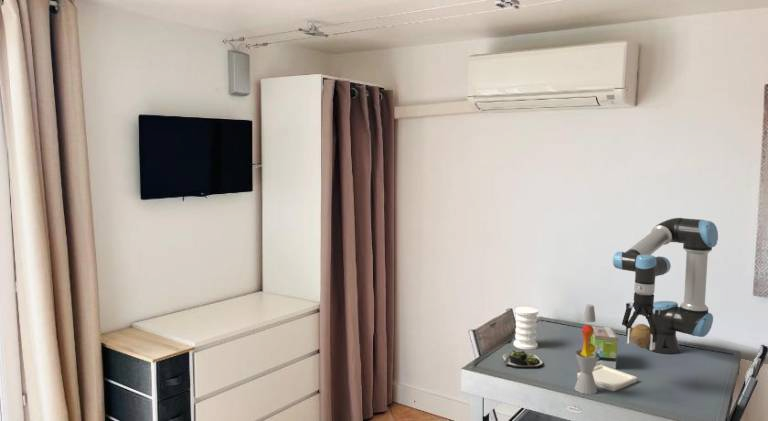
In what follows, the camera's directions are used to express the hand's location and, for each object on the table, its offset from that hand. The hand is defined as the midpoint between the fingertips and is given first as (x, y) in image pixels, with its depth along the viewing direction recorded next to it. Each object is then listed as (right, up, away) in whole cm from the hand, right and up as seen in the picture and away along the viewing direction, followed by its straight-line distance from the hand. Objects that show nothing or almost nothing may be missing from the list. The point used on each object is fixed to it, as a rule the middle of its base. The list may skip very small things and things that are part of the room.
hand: (640, 346), depth 243 cm
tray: (-12, -15, +5) cm, 20 cm away
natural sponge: (0, -1, 0) cm, 1 cm away
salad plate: (-44, -13, +24) cm, 51 cm away
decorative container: (-36, -11, +46) cm, 60 cm away
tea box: (-7, -13, +25) cm, 29 cm away
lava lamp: (-25, -16, -5) cm, 30 cm away
